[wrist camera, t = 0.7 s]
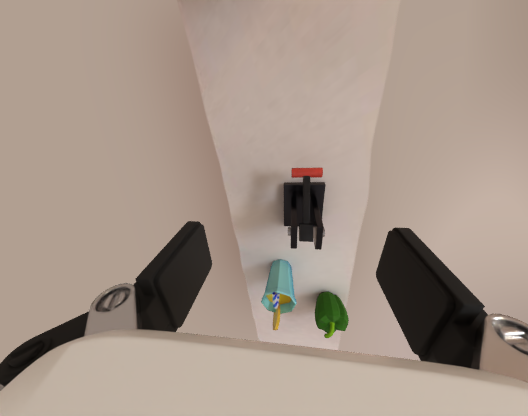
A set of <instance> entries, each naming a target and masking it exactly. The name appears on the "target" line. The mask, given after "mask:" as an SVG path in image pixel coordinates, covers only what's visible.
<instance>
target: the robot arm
mask: <svg viewBox="0 0 528 416" xmlns="http://www.w3.org/2000/svg"><path fill="white" fill-rule="evenodd" d="M211 266H212V260H211V256H210V251H209V247H208V243H207V238H206V234H205V230H204V226H203V225H202V224H201V223H200V222H193V221H192V222H191V221H189V222H187V223H186V224H185V225H184V226H183V227H182V228H181V230H180V231H179V232H178V233H177V234H176V235H175V236H174V237H173V238H172V239H171V240H170V242H169V243H168V244H167V245H166V246H165V247H164V248H163V249H162V250H161V251H160V253H159V254H158V255H157V256H156V257H155V258H154V259H153V260H152V261H151V262H150V263H149V265H148V266H147V267H146V268H145V269H144V270H143V271H142V272H141V273H140V275H139V276H138V277H137V278H136V281H137V282H136V283H135V284H134V285H132V284H128V283H124V284H119V285H115V286H113V287H111V288H109V289H107V290H106V291H104V292H103V293H101V294H100V295H99V296H98V297H97V298H96V299H95V300H94V301H93V303H92V305H91V307H90V310H89V312H87V313H85V314H82V315H80V316H78V317H76V318H74V319H72V320H70V321H68V322H65V323H64V324H61V325H59V326H57V327H55V328H53V329H51V330H48V331H46V332H44V333H42V334H40V335H38V336H36V337H34V338H32V339H30V340H28V341H26V342H25V343H23V344H22V345H20V346H19V347H17V348H16V349H15V350H14V351H12V352H11V353H10V354H9V355H8V356H7V357H6V358H5V359H4V360H3V362H2V363H1V364H0V416H528V324H526V323H524V322H522V321H520V320H518V319H515V318H513V317H510V316H506V315H502V314H490V315H488V314H487V313H486V312H485V311H484V310H483V308H484V307H485V306H484V305H483V304H482V303H481V302H480V301H479V300H478V299H477V298H476V297H475V296H474V295H473V294H472V293H471V292H470V291H469V289H468V288H467V287H466V286H465V285H464V284H463V283H462V282H461V281H460V280H459V279H458V278H457V277H456V276H455V275H454V274H453V273H452V272H451V271H450V270H449V269H448V268H447V267H446V266H445V265H444V264H443V262H442V261H441V260H440V259H439V258H438V257H437V256H436V255H435V254H434V253H433V252H432V251H431V250H430V249H429V248H428V247H427V246H426V245H425V244H424V243H423V242H422V241H421V240H420V239H419V238H418V237H417V235H415V233H413V231H412V230H411V229H409V228H394V229H393V230H392V231H389V232H388V235H387V238H386V242H385V245H384V248H383V251H382V255H381V258H380V261H379V265H378V268H377V271H376V277H377V280H378V282H379V284H380V286H381V288H382V290H383V292H384V294H385V296H386V299H387V300H388V303H389V304H390V307H391V309H392V311H393V313H394V315H395V317H396V319H397V321H398V323H399V325H400V327H401V329H402V331H403V333H404V335H405V337H406V339H407V341H408V343H409V345H410V347H411V349H412V351H413V352H414V353H415V354H417V355H418V356H419V358H420V360H421V361H418V360H410V359H403V358H394V357H386V356H378V355H369V354H362V353H354V352H345V351H337V350H329V349H321V348H312V347H304V346H295V345H287V344H278V343H269V342H261V341H252V340H243V339H234V338H225V337H216V336H207V335H198V334H189V333H179V332H176V331H177V329H178V328H179V327H181V326H182V324H183V322H184V321H185V319H186V317H187V315H188V313H189V311H190V309H191V307H192V305H193V303H194V301H195V299H196V297H197V295H198V293H199V291H200V289H201V287H202V285H203V283H204V281H205V279H206V277H207V275H208V273H209V271H210V269H211Z"/></svg>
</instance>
